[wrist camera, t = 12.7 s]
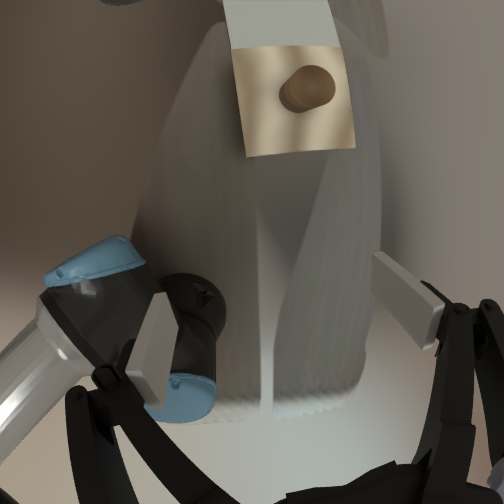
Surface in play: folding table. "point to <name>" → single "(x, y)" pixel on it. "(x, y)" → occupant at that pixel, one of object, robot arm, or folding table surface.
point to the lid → (293, 99)
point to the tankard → (119, 2)
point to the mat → (279, 23)
